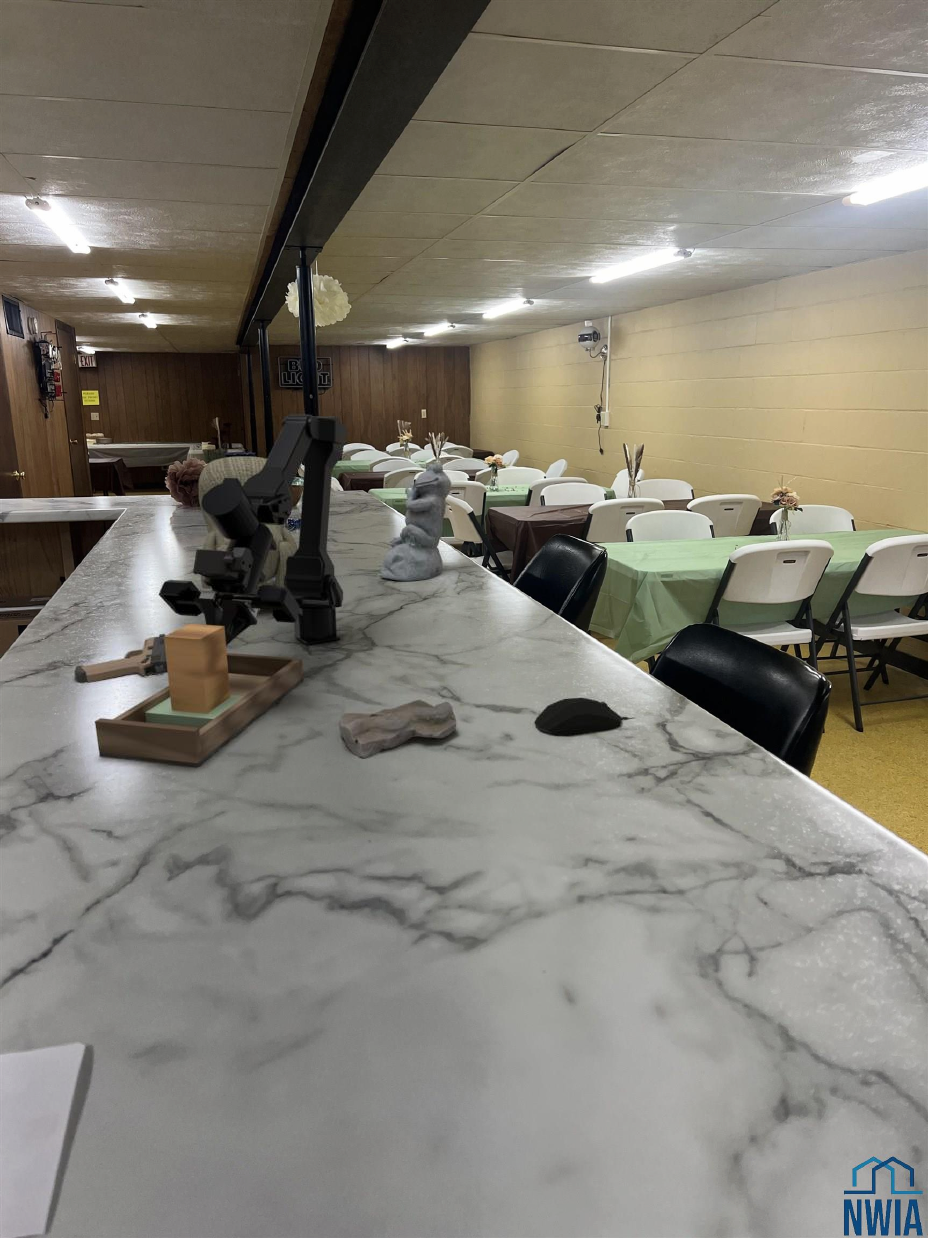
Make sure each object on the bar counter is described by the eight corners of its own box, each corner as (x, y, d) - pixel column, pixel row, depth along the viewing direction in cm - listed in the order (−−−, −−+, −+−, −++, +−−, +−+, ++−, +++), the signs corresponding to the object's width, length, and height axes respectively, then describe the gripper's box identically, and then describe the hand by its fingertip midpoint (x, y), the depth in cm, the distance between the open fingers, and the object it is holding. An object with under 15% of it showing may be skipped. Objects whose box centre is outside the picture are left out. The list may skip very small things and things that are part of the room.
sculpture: (379, 562, 200) (393, 448, 188) (438, 570, 203) (456, 458, 190) (378, 590, 184) (393, 467, 172) (442, 598, 186) (462, 477, 174)
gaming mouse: (650, 729, 102) (652, 701, 101) (545, 742, 98) (546, 712, 97) (627, 711, 108) (629, 684, 107) (528, 722, 104) (529, 695, 103)
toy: (292, 582, 183) (285, 452, 175) (314, 614, 155) (307, 462, 147) (200, 589, 176) (188, 454, 168) (206, 623, 148) (192, 464, 140)
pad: (181, 704, 107) (179, 690, 107) (254, 711, 105) (253, 697, 104) (146, 726, 100) (145, 712, 99) (224, 734, 97) (223, 720, 97)
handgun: (73, 688, 116) (172, 676, 120) (70, 672, 116) (169, 660, 120) (89, 653, 134) (174, 643, 138) (86, 638, 133) (172, 629, 137)
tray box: (225, 673, 121) (223, 646, 119) (303, 680, 118) (301, 652, 117) (99, 756, 92) (94, 721, 91) (197, 767, 90) (194, 731, 89)
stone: (353, 764, 91) (352, 732, 90) (330, 734, 100) (329, 704, 99) (465, 742, 97) (465, 712, 96) (435, 715, 106) (435, 687, 105)
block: (196, 694, 105) (190, 623, 103) (230, 697, 104) (224, 626, 102) (171, 710, 100) (163, 636, 97) (206, 714, 99) (200, 639, 96)
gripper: (159, 522, 106) (117, 620, 99) (285, 527, 102) (252, 630, 95) (195, 567, 116) (159, 660, 108) (312, 573, 112) (283, 670, 104)
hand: (211, 654), depth 104 cm, fingers closed
